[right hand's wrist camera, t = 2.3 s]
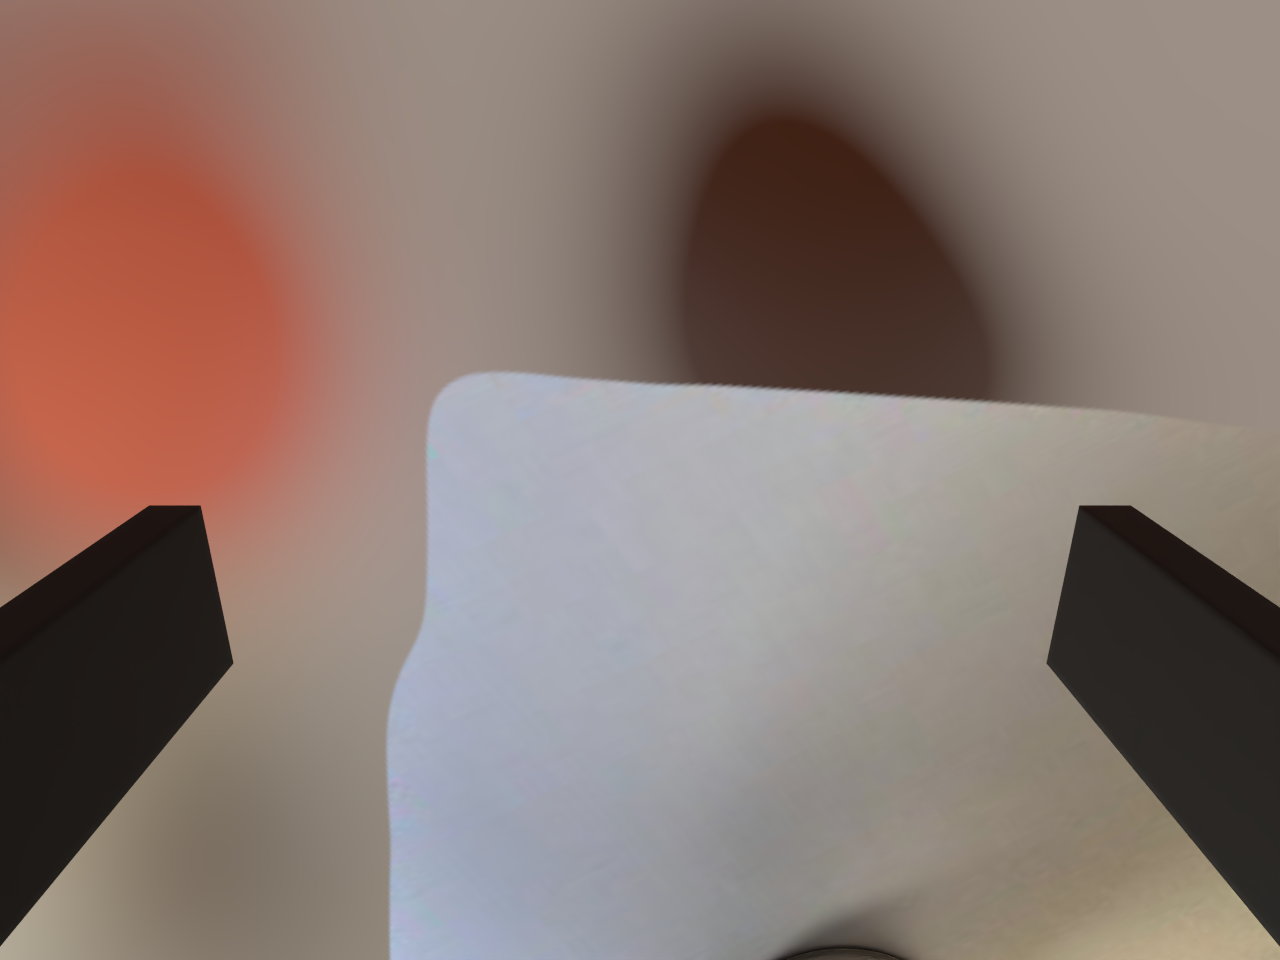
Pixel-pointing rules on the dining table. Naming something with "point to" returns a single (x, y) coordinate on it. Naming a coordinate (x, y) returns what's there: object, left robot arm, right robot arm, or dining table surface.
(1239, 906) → the dining table surface
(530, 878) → the dining table surface
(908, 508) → the dining table surface
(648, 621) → the dining table surface
